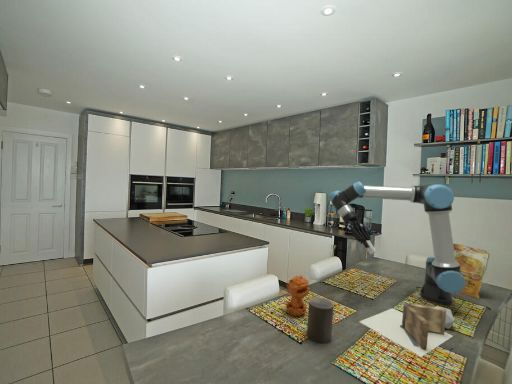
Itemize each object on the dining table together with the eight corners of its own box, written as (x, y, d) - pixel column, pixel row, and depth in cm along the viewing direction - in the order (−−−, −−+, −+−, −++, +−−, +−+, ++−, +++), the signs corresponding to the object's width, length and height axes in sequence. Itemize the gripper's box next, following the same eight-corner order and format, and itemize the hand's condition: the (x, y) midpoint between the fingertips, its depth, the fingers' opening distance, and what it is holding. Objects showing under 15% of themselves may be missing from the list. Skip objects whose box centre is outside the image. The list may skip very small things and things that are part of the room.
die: (454, 327, 117) (442, 304, 122) (463, 327, 110) (449, 302, 115) (435, 332, 118) (423, 308, 124) (442, 331, 111) (429, 307, 116)
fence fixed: (402, 328, 112) (404, 304, 112) (401, 325, 114) (402, 302, 114) (445, 335, 109) (447, 310, 108) (442, 332, 111) (444, 308, 110)
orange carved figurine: (308, 320, 115) (311, 281, 114) (284, 316, 117) (286, 278, 116) (308, 308, 126) (311, 272, 125) (286, 305, 128) (288, 269, 127)
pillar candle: (317, 345, 98) (320, 307, 97) (302, 331, 106) (304, 296, 106) (336, 339, 102) (339, 302, 102) (320, 326, 111) (322, 292, 110)
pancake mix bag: (450, 285, 167) (453, 242, 165) (485, 298, 149) (490, 250, 148) (443, 286, 164) (447, 243, 163) (479, 300, 147) (484, 251, 145)
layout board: (392, 309, 130) (392, 308, 130) (453, 337, 108) (453, 335, 108) (358, 322, 116) (358, 321, 116) (421, 358, 94) (421, 356, 94)
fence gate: (404, 328, 112) (405, 305, 111) (408, 329, 111) (410, 306, 111) (422, 349, 98) (424, 323, 97) (427, 349, 98) (430, 323, 97)
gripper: (351, 218, 149) (376, 255, 135) (335, 219, 141) (360, 258, 128) (360, 210, 144) (386, 247, 131) (344, 211, 137) (370, 250, 123)
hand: (373, 252), depth 129 cm, fingers closed
